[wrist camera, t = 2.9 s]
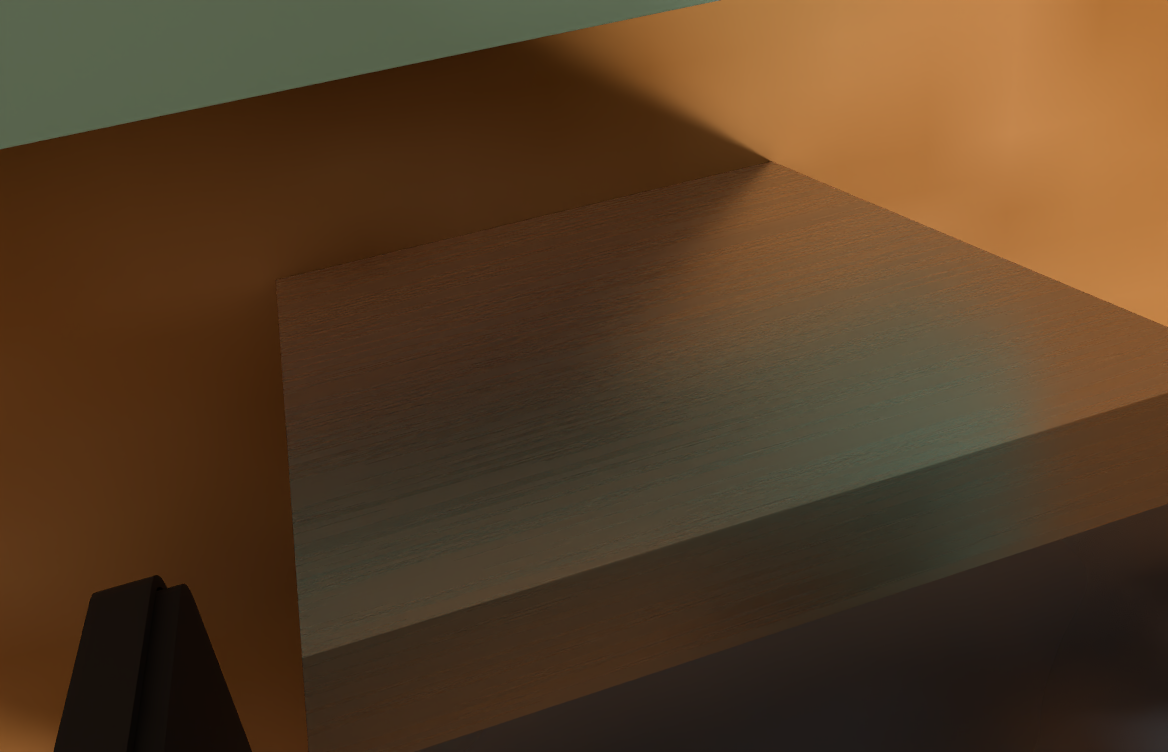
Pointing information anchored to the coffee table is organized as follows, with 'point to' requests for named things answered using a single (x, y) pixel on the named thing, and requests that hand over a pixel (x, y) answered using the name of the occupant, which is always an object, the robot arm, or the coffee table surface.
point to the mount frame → (240, 49)
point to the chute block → (724, 488)
